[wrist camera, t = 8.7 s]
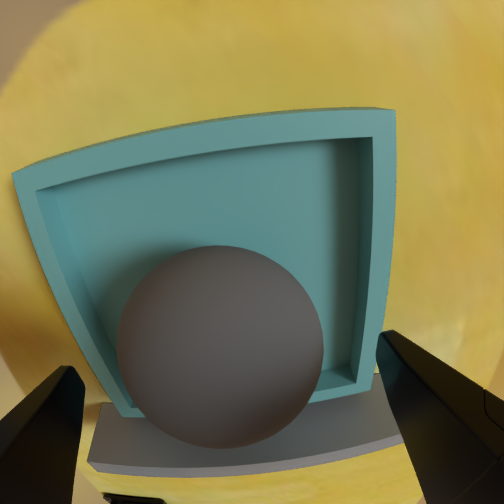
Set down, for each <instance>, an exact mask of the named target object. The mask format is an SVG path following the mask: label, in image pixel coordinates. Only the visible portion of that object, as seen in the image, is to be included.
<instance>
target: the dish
mask: <svg viewBox="0 0 504 504" xmlns="http://www.w3.org/2000/svg"><path fill="white" fill-rule="evenodd" d="M12 177H13V181H14V185H15V189H16V192H17V196H18V199H19V203H20V206H21V209H22V212H23V216H24V219H25V222H26V225H27V228H28V231H29V234H30V237H31V239H32V242H33V245H34V248H35V250H36V253H37V256H38V258H39V261H40V263H41V266H42V268H43V271H44V273H45V276H46V278H47V280H48V283H49V285H50V287H51V290H52V292H53V294H54V297H55V299H56V301H57V303H58V305H59V307H60V310H61V312H62V314H63V316H64V318H65V320H66V322H67V324H68V326H69V328H70V330H71V332H72V334H73V336H74V338H75V340H76V341H77V343H78V345H79V347H80V349H81V351H82V353H83V354H84V356H85V358H86V360H87V361H88V363H89V365H90V367H91V368H92V370H93V372H94V374H95V375H96V377H97V379H98V380H99V382H100V383H101V385H102V387H103V388H104V390H105V392H106V393H107V395H108V396H109V398H110V399H111V401H112V402H113V404H114V405H115V407H116V408H117V410H118V411H119V413H120V414H121V416H122V417H145V416H144V415H143V413H142V412H141V411H140V410H139V409H138V408H137V406H136V405H135V403H134V402H133V400H132V399H131V397H130V395H129V393H128V392H127V390H126V388H125V385H124V383H123V380H122V377H121V374H120V370H119V367H118V360H117V350H116V342H117V331H118V325H119V321H120V318H121V314H122V311H123V308H124V306H125V304H126V302H127V300H128V298H129V297H130V295H131V293H132V291H133V290H134V288H135V287H136V286H137V284H138V283H139V282H140V281H141V280H142V278H143V277H144V276H145V275H146V274H147V273H148V272H149V271H151V270H152V269H153V268H154V267H155V266H157V265H158V264H160V263H161V262H163V261H164V260H166V259H168V258H170V257H172V256H174V255H176V254H178V253H180V252H183V251H186V250H189V249H192V248H197V247H202V246H213V245H223V246H234V247H240V248H245V249H248V250H252V251H255V252H257V253H260V254H262V255H264V256H266V257H268V258H270V259H271V260H273V261H275V262H276V263H278V264H280V265H281V266H282V267H284V268H285V269H286V270H287V271H289V272H290V273H291V274H292V275H293V276H294V277H295V278H296V280H297V281H298V282H299V283H300V284H301V285H302V286H303V288H304V289H305V291H306V292H307V294H308V295H309V297H310V298H311V300H312V302H313V304H314V306H315V309H316V311H317V313H318V316H319V320H320V324H321V328H322V332H323V344H324V355H323V363H322V371H321V374H320V377H319V380H318V383H317V386H316V389H315V391H314V392H313V394H312V396H311V398H310V400H309V401H308V403H312V402H317V401H323V400H328V399H333V398H338V397H342V396H347V395H351V394H356V393H360V392H364V391H368V390H370V389H371V385H372V380H373V375H374V371H375V366H376V356H375V353H376V347H377V341H378V336H379V334H380V333H381V332H382V328H383V321H384V315H385V308H386V301H387V294H388V286H389V277H390V268H391V258H392V248H393V235H394V221H395V201H396V114H395V110H391V109H384V108H376V107H343V108H318V109H301V110H288V111H276V112H266V113H256V114H248V115H239V116H232V117H224V118H218V119H211V120H204V121H198V122H192V123H187V124H181V125H176V126H170V127H165V128H160V129H155V130H151V131H146V132H141V133H137V134H133V135H128V136H124V137H120V138H116V139H112V140H108V141H104V142H100V143H97V144H93V145H89V146H86V147H82V148H79V149H75V150H72V151H69V152H65V153H62V154H59V155H56V156H53V157H50V158H47V159H44V160H41V161H38V162H35V163H33V164H31V165H28V166H26V167H24V168H22V169H20V170H18V171H16V172H14V173H12Z"/></svg>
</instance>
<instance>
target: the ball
mask: <svg viewBox="0 0 504 504" xmlns="http://www.w3.org/2000/svg"><path fill="white" fill-rule="evenodd" d="M116 350H117V360H118V367H119V370H120V374H121V377H122V380H123V383H124V385H125V388H126V390H127V392H128V393H129V395H130V397H131V399H132V400H133V402H134V403H135V405H136V406H137V408H138V409H139V410H140V411H141V412H142V413H143V415H144V416H145V417H146V418H147V419H148V420H149V421H150V422H152V423H153V424H154V425H155V426H157V427H158V428H159V429H161V430H162V431H163V432H165V433H167V434H168V435H170V436H172V437H174V438H176V439H178V440H181V441H183V442H186V443H188V444H191V445H195V446H199V447H204V448H212V449H231V448H239V447H244V446H248V445H252V444H254V443H257V442H260V441H262V440H265V439H267V438H269V437H271V436H273V435H275V434H276V433H278V432H279V431H281V430H282V429H283V428H285V427H286V426H287V425H289V424H290V423H291V422H292V421H293V420H294V419H295V418H296V417H297V416H298V415H299V414H300V412H301V411H302V410H303V409H304V407H305V406H306V405H307V403H308V401H309V400H310V398H311V396H312V394H313V392H314V391H315V389H316V386H317V383H318V380H319V377H320V374H321V371H322V363H323V355H324V344H323V332H322V328H321V324H320V320H319V316H318V313H317V311H316V309H315V306H314V304H313V302H312V300H311V298H310V297H309V295H308V294H307V292H306V291H305V289H304V288H303V286H302V285H301V284H300V283H299V282H298V281H297V280H296V278H295V277H294V276H293V275H292V274H291V273H290V272H289V271H287V270H286V269H285V268H284V267H282V266H281V265H280V264H278V263H276V262H275V261H273V260H271V259H270V258H268V257H266V256H264V255H262V254H260V253H257V252H255V251H252V250H248V249H245V248H240V247H234V246H223V245H213V246H202V247H197V248H192V249H189V250H186V251H183V252H180V253H178V254H176V255H174V256H172V257H170V258H168V259H166V260H164V261H163V262H161V263H160V264H158V265H157V266H155V267H154V268H153V269H152V270H151V271H149V272H148V273H147V274H146V275H145V276H144V277H143V278H142V280H141V281H140V282H139V283H138V284H137V286H136V287H135V288H134V290H133V291H132V293H131V295H130V297H129V298H128V300H127V302H126V304H125V306H124V308H123V311H122V314H121V318H120V321H119V325H118V331H117V342H116Z"/></svg>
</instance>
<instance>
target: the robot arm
mask: <svg viewBox="0 0 504 504" xmlns="http://www.w3.org/2000/svg"><path fill="white" fill-rule="evenodd" d="M375 356H376V362H377V365H378V368H379V372H380V375H381V379H382V382H383V385H384V389H385V393H386V396H387V399H388V403H389V406H390V408H391V411H392V413H393V416H394V418H395V421H396V423H397V426H398V428H399V431H400V433H401V436H402V438H403V441H404V443H405V446H406V449H407V451H408V454H409V456H410V459H411V462H412V464H413V467H414V470H415V472H416V475H417V478H418V481H419V483H420V486H421V489H422V492H423V495H424V497H425V500H426V503H427V504H504V401H503V400H502V399H500V398H498V397H497V396H495V395H493V394H492V393H490V392H489V391H487V390H486V389H483V387H481V386H480V385H478V384H477V383H475V382H474V381H472V380H470V379H469V378H467V377H466V376H464V375H463V374H461V373H460V372H458V371H457V370H455V369H454V368H452V367H451V366H449V365H447V364H446V363H444V362H443V361H441V360H440V359H438V358H437V357H435V356H434V355H432V354H430V353H429V352H427V351H426V350H424V349H423V348H421V347H420V346H418V345H417V344H415V343H413V342H412V341H410V340H409V339H407V338H406V337H404V336H403V335H401V334H399V333H398V332H396V331H395V330H388V331H384V332H381V333H380V334H379V336H378V341H377V347H376V353H375ZM84 398H85V385H84V383H83V381H82V379H81V378H80V376H79V375H78V373H77V371H76V370H75V368H74V367H73V366H60V367H59V368H58V369H56V370H55V371H54V372H53V373H52V374H51V375H50V376H49V377H47V378H46V379H45V380H44V381H43V382H42V383H41V384H40V385H38V386H37V387H36V388H35V389H34V390H33V391H32V392H31V393H30V394H29V395H27V396H26V397H25V398H24V399H23V400H22V401H21V402H20V403H19V404H18V405H17V406H15V407H14V408H13V409H12V410H11V411H10V412H9V413H8V414H7V415H6V416H5V417H4V418H2V419H1V420H0V504H72V494H73V485H74V477H75V470H76V463H77V456H78V450H79V444H80V438H81V431H82V420H83V408H84ZM103 498H104V499H105V500H106V501H108V502H109V503H110V504H166V503H165V502H164V501H162V500H156V499H143V498H132V497H123V496H115V495H108V494H104V496H103Z"/></svg>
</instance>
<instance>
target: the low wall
mask: <svg viewBox="0 0 504 504" xmlns="http://www.w3.org/2000/svg"><path fill="white" fill-rule="evenodd" d="M401 443H404V441H403V438H402V436H401V433H400V431H399V428H398V426H397V423H396V421H395V418H394V416H393V413H392V411H391V408H390V406H389V403H388V399H387V396H386V393H385V389H384V385H383V382H382V379H381V375H380V373H378V374H374V375H373V380H372V385H371V389H370V390H368V391H364V392H360V393H356V394H351V395H347V396H342V397H338V398H333V399H328V400H323V401H317V402H312V403H307V405H306V406H305V407H304V409H303V410H302V411H301V412H300V414H299V415H298V416H297V417H296V418H295V419H294V420H293V421H292V422H291V423H290V424H289V425H287V426H286V427H285V428H283V429H282V430H281V431H279V432H278V433H276V434H275V435H273V436H271V437H269V438H267V439H265V440H262V441H260V442H257V443H254V444H252V445H248V446H244V447H239V448H231V449H212V448H204V447H199V446H195V445H191V444H188V443H186V442H183V441H181V440H178V439H176V438H174V437H172V436H170V435H168V434H167V433H165V432H163V431H162V430H161V429H159V428H158V427H157V426H155V425H154V424H153V423H152V422H150V421H149V420H148V419H147V418H146V417H122V416H121V414H120V413H119V411H118V410H117V408H116V407H115V405H114V404H113V403H102V407H101V410H100V414H99V417H98V421H97V424H96V428H95V431H94V435H93V439H92V443H91V447H90V450H89V454H88V458H87V462H88V463H89V464H90V465H91V466H92V467H93V468H94V469H95V470H96V471H97V472H103V473H112V474H121V475H133V476H148V477H176V478H195V477H224V476H239V475H251V474H261V473H269V472H277V471H285V470H291V469H298V468H304V467H309V466H315V465H320V464H325V463H330V462H335V461H339V460H343V459H348V458H352V457H356V456H360V455H364V454H367V453H371V452H375V451H378V450H382V449H385V448H388V447H392V446H395V445H398V444H401Z"/></svg>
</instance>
